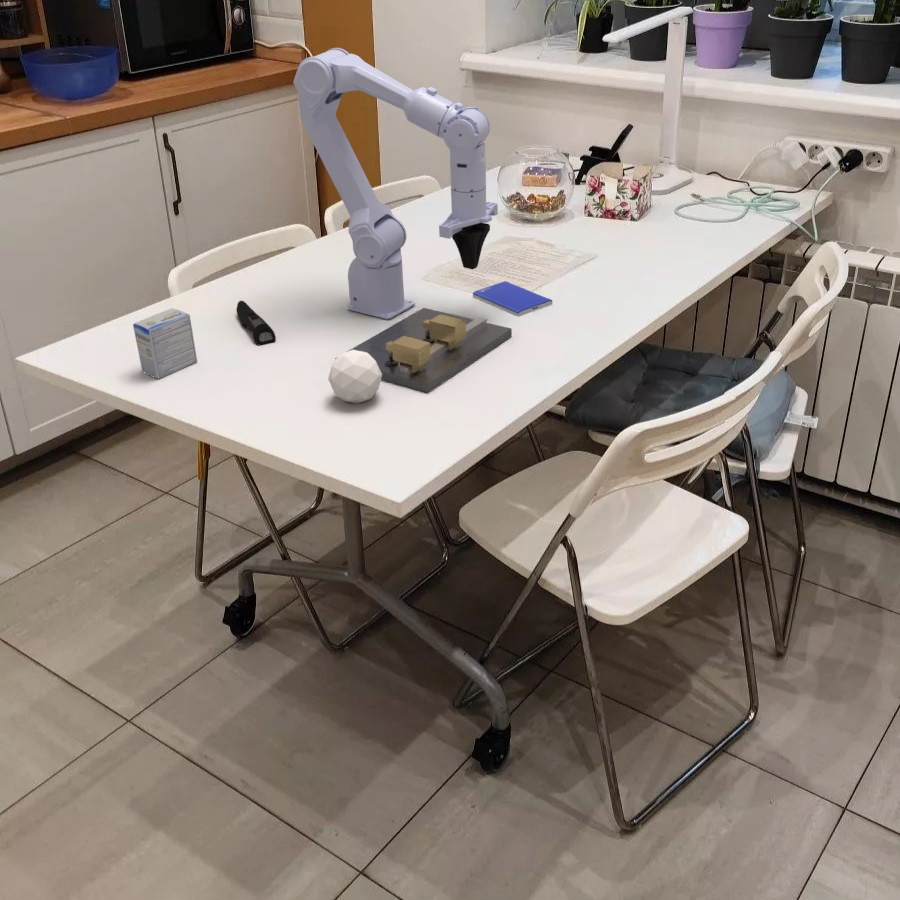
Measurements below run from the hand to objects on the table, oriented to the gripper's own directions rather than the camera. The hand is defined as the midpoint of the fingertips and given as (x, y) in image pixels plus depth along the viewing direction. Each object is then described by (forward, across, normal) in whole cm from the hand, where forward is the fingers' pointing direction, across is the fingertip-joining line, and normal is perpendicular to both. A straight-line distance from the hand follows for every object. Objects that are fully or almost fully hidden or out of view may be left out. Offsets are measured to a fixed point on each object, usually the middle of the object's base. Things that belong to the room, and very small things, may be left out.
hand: (470, 267), depth 176 cm
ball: (+10, -34, -2) cm, 35 cm away
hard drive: (+10, +11, -2) cm, 15 cm away
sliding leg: (+7, -14, -4) cm, 17 cm away
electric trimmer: (+10, -23, +30) cm, 39 cm away
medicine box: (+10, -41, +31) cm, 52 cm away
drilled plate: (+9, -15, -1) cm, 18 cm away
